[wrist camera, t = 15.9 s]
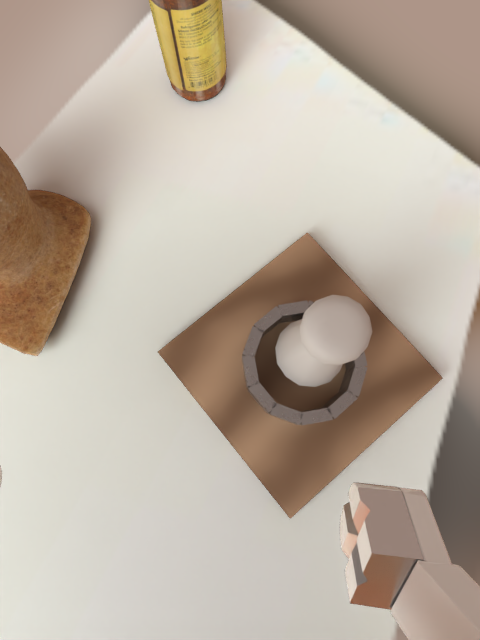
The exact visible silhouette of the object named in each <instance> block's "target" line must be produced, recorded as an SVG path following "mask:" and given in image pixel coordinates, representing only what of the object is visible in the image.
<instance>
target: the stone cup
mask: <svg viewBox="0 0 480 640" xmlns="http://www.w3.org/2000/svg"><path fill="white" fill-rule="evenodd" d="M90 227H91V217H90V215H89V212H88V211H87V210H86V209H85V208H84V207H83V206H81V205H80V204H78V203H77V202H75V201H73V200H71V199H69V198H67V197H65V196H62V195H60V194H56V193H53V192H48V191H42V190H29V191H28V190H27V187H26V185H25V182H24V181H23V179H22V177H21V175H20V173H19V172H18V170H17V168H16V167H15V165H14V164H13V162H12V161H11V159H10V158H9V156H8V155H7V154H6V153H5V152H4V151H3V149H2V148H1V147H0V342H1V343H2V344H4V345H7V346H9V347H11V348H13V349H15V350H18V351H20V352H22V353H24V354H30V355H34V356H38V355H39V354H40V352H41V351H42V349H43V347H44V345H45V343H46V341H47V339H48V337H49V334H50V332H51V331H52V329H53V327H54V325H55V322H56V320H57V317H58V315H59V313H60V310H61V308H62V306H63V303H64V301H65V298H66V296H67V294H68V292H69V289H70V287H71V285H72V282H73V280H74V277H75V275H76V272H77V270H78V267H79V264H80V262H81V259H82V256H83V253H84V250H85V247H86V244H87V241H88V237H89V233H90Z"/></svg>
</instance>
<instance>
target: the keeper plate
mask: <svg viewBox="0 0 480 640" xmlns="http://www.w3.org/2000/svg"><path fill="white" fill-rule="evenodd" d="M330 295H339V296H347V297H349V298H351V299H353V300H355V301H356V302H358V303H360V304H361V305H362V306H363V308H364V309H365V311H366V312H367V314H368V315H369V317H370V322H371V327H372V335H371V338H370V341H369V344H368V347H367V348H366V349H365V350H364V352H365V356H366V360H367V365H368V366H365V367H367V371H366V375H365V378H364V381H363V385H362V388H361V391H360V395H359V397H357V398H358V399H357V400H356V401H354V402H353V403H352V404H351V405H350V406H349V407H348V408H347V409H346V410H344V411H343V412H342V413H341V414H340V415H339V416H338V417H337V418H335V419H333V420H330V421H324V422H319V423H313V424H307V425H296V424H293V423H290V422H288V421H285V420H282V419H280V418H277V417H274V416H272V415H269V414H268V413H266V412H265V411H264V410H263V409H262V407H261V406H260V405H259V404H258V403H257V401H256V400H255V399H254V398H253V396H252V395H251V394H250V393H249V392H248V388H246V382H245V376H244V371H243V365H242V353H243V351H244V348H245V345H246V343H247V340H248V337H249V334H250V332H251V329H252V326H254V324H255V323H256V322H257V321H259V320H260V319H261V318H262V317H263V316H265V315H266V314H267V313H268V312H270V311H271V310H272V309H273V308H274V307H276V306H277V307H278V305H282V304H288V303H294V302H300V301H306V300H307V301H308V302H309V300H310V301H312V302H315V301H317V300H319V299H322V298H325V297H327V296H330ZM297 321H298V320H297ZM292 322H295V321H291V322H285V323H279V324H278V325H277V326H276V327H274V328H273V329H272V330H271V331H270V332H268V333H267V334H266V335H265V336H263V337H262V338H261V340H260V343H259V346H258V349H257V351H256V354H255V362H256V368H257V373H258V379H259V383H260V384H261V385H262V386H263V387H264V389H265V390H266V391H267V392H268V393H269V395H270V396H271V397H272V398H273V399H274V401H275V402H276V403H278V404H281V405H284V406H286V407H289V408H292V409H294V410H297V411H300V412H301V411H307V410H313V409H318V408H321V407H322V406H324V405H325V404H326V403H327V402H328V401H329V400H330V399H332V398H333V397H334V396H335V395H336V394H337V393H338V392H339V390H340V387H341V383H342V380H343V377H344V374H345V371H346V367H345V363H344V364H343V365H342V368H341V370H340V372H339V373H338V374H337V375H336V376H335V377H334V378H333V379H332V380H331V382H329V383H326V384H323V385H320V386H317V387H310V386H300V385H298V384H296V383H295V382H293V381H292V380H290V379H289V378H287V377H286V376H285V375H284V373H283V372H282V370H281V369H280V367H279V366H278V364H277V359H276V350H275V347H276V344H277V341H278V338H279V335H280V333H281V332H282V331H283V330H284V329H285V328H286V327H287V326H288V325H289V324H290V323H292ZM158 353H159V354H160V356H161V357H162V358H163V359H164V361H165V362H166V363H167V364H168V366H169V367H170V368H171V369H172V371H173V372H174V373H175V374H176V376H177V377H178V378H179V379H180V381H181V382H182V383H183V384H184V386H185V387H186V388H187V390H188V391H189V392H190V393H191V395H192V396H193V397H194V398H195V400H196V401H197V402H198V403H199V405H200V406H201V407H202V408H203V410H204V411H205V412H206V413H207V415H208V416H209V417H210V418H211V420H212V421H213V422H214V423H215V425H216V426H217V427H218V428H219V430H220V431H221V432H222V434H223V435H224V436H225V437H226V439H227V440H228V441H229V442H230V444H231V445H232V446H233V447H234V449H235V450H236V451H237V452H238V454H239V455H240V456H241V457H242V459H243V460H244V461H245V462H246V464H247V465H248V466H249V467H250V469H251V470H252V471H253V473H254V474H255V475H256V476H257V478H258V479H259V480H260V481H261V483H262V484H263V485H264V486H265V488H266V489H267V490H268V491H269V493H270V494H271V495H272V496H273V498H274V499H275V500H276V501H277V503H278V504H279V505H280V506H281V508H282V509H283V510H284V511H285V513H286V514H287V515H288V517H289V518H292V517H293V516H294V515H295V514H296V513H297V512H298V511H299V510H300V509H301V508H302V507H303V506H305V505H306V504H307V503H308V502H309V501H310V500H311V499H312V498H313V497H314V496H315V495H316V494H318V493H319V492H320V491H321V490H322V489H323V488H324V487H325V486H326V485H327V484H328V483H329V482H331V481H332V480H333V479H334V478H335V477H336V476H337V475H338V474H339V473H340V472H341V471H343V470H344V469H345V468H346V467H347V466H348V465H349V464H350V463H351V462H352V461H353V460H354V459H356V458H357V457H358V456H359V455H360V454H361V453H362V452H363V451H364V450H365V449H366V448H367V447H369V446H370V445H371V444H372V443H373V442H374V441H375V440H376V439H377V438H378V437H379V436H381V435H382V434H383V433H384V432H385V431H386V430H387V429H388V428H389V427H390V426H391V425H392V424H394V423H395V422H396V421H397V420H398V419H399V418H400V417H401V416H402V415H403V414H404V413H405V412H407V411H408V410H409V409H410V408H411V407H412V406H413V405H414V404H415V403H416V402H417V401H419V400H420V399H421V398H422V397H423V396H424V395H425V394H426V393H427V392H428V391H429V390H430V389H432V388H433V387H434V386H435V385H436V384H437V383H438V382H439V381H440V380H441V379H442V377H441V375H440V374H439V373H438V372H437V371H436V370H435V369H434V368H433V367H432V366H431V365H430V364H429V363H428V361H427V360H426V359H425V358H424V357H423V356H422V355H421V354H420V353H419V352H418V351H417V350H416V349H415V348H414V346H413V345H412V344H411V343H410V342H409V341H408V340H407V339H406V338H405V337H404V336H403V335H402V334H401V332H400V331H399V330H398V329H397V328H396V327H395V326H394V325H393V324H392V323H391V322H390V321H389V320H388V319H387V317H386V316H385V315H384V314H383V313H382V312H381V311H380V310H379V309H378V308H377V307H376V306H375V305H374V303H373V302H372V301H371V300H370V299H369V298H368V297H367V296H366V295H365V294H364V293H363V292H362V291H361V289H360V288H359V287H358V286H357V285H356V284H355V283H354V282H353V281H352V280H351V279H350V278H349V277H348V276H347V274H346V273H345V272H344V271H343V270H342V269H341V268H340V267H339V266H338V265H337V264H336V263H335V262H334V260H333V259H332V258H331V257H330V256H329V255H328V254H327V253H326V252H325V251H324V250H323V249H322V248H321V247H320V245H319V244H318V243H317V242H316V241H315V240H314V239H313V238H312V237H311V236H310V235H309V234H308V233H306V234H305V235H304V236H302V237H301V238H300V239H299V240H297V241H296V242H295V243H294V244H292V245H291V246H290V247H289V248H287V249H286V250H285V251H284V252H282V253H281V254H280V255H279V256H277V257H276V258H275V259H274V260H272V261H271V262H270V263H269V264H267V265H266V266H265V267H263V268H262V269H261V270H260V271H258V272H257V273H256V274H255V275H253V276H252V277H251V278H250V279H248V280H247V281H246V282H245V283H243V284H242V285H241V286H240V287H238V288H237V289H236V290H235V291H233V292H232V293H231V294H230V295H228V296H227V297H226V298H225V299H223V300H222V301H221V302H220V303H218V304H217V305H216V306H215V307H213V308H212V309H211V310H209V311H208V312H207V313H206V314H204V315H203V316H202V317H201V318H199V319H198V320H197V321H196V322H194V323H193V324H192V325H191V326H189V327H188V328H187V329H186V330H184V331H183V332H182V333H181V334H179V335H178V336H177V337H176V338H174V339H173V340H172V341H171V342H169V343H168V344H167V345H166V346H164V347H163V348H162V349H160V350H159V351H158Z"/></svg>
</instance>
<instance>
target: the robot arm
mask: <svg viewBox="0 0 480 640" xmlns="http://www.w3.org/2000/svg"><path fill="white" fill-rule="evenodd" d="M1 483H2V470H1V467H0V486H1ZM348 496H349V503H347V504H346V505H344V506H343V509H342V513H341V518H340V541H341V549H342V551H343V552H344V553H345V555H346V556H347V557H348V559H349V560H348V563H347V566H346V568H345V576H346V582H347V588H348V595H349V601H350V603H351V604H358V605H364V606H371V607H377V608H384V609H391V611H390V613H391V614H392V616H393V617H394V619H395V620H396V622H397V623H398V625H399V626H400V628H401V629H402V631H403V632H404V634H405V636H406V637H407V639H408V640H480V586H479V585H478V584H477V583H476V582H475V581H474V580H473V579H472V578H471V577H470V576H469V575H468V574H467V573H466V572H465V571H464V570H463V569H462V568H461V567H460V566H459V565H453V564H452V562H451V560H450V557H449V554H448V552H447V549H446V547H445V544H444V541H443V539H442V536H441V534H440V531H439V528H438V526H437V523H436V520H435V518H434V515H433V513H432V510H431V507H430V504H429V502H428V499H427V497H426V494H425V493H424V492H423V491H422V490H415V489H406V488H397V487H393V486H383V485H374V484H364V483H353V484H352V485H351V486H350V489H349V492H348Z"/></svg>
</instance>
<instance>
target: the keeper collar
mask: <svg viewBox="0 0 480 640" xmlns="http://www.w3.org/2000/svg"><path fill="white" fill-rule="evenodd" d="M313 303H314V302H312V301H310V300H309V302H308V301H307V300H306V301H300V302H294V303H288V304H282V305H278V307H277V306H276V307H274V308H273V309H272V310H271V311H270V312H268V313H267V314H266V315H265V316H263V317H262V318H261V319H260V320H259V321H257V322H256V323H255V324H254V326H252V329H251V332H250V334H249V337H248V340H247V343H246V345H245V348H244V351H243V353H242V365H243V371H244V376H245V382H246V388H248V392H249V393H250V394H251V395H252V396H253V398H254V399H255V400H256V401H257V403H258V404H259V405H260V406H261V407H262V409H263V410H264V411H265V412H266V413H268V414H269V415H272V416H274V417H277V418H280V419H282V420H285V421H288V422H290V423H293V424H296V425H307V424H313V423H319V422H324V421H330V420H333V419H335V418H337V417H338V416H339V415H340V414H341V413H342V412H343V411H344V410H346V409H347V408H348V407H349V406H350V405H351V404H352V403H353V402H354V401H356V400H357V399H358V398H357V397H359V395H360V391H361V388H362V385H363V381H364V378H365V375H366V371H367V367H365V366H368V365H367V360H366V356H365V352H363V353H362V354H361V355H360V356H359V357H358V358H357V359H356V360H353V361H350V362H347V363H345V367H346V371H345V374H344V377H343V380H342V383H341V387H340V390H339V392H338V393H337V394H336V395H335V396H334V397H333V398H332V399H330V400H329V401H328V402H327V403H326V404H325V405H324V406H322V407H321V408H318V409H313V410H307V411H301V412H300V411H297V410H294V409H292V408H289V407H286V406H284V405H281V404H278V403H276V402H275V401H274V399H273V398H272V397H271V396H270V395H269V393H268V392H267V391H266V390H265V389H264V387H263V386H262V385H261V384H260V383H259V379H258V373H257V368H256V362H255V354H256V351H257V349H258V346H259V343H260V340H261V338H262V337H263V336H265V335H266V334H267V333H268V332H270V331H271V330H272V329H273V328H274V327H276V326H277V325H278V324H279V323H285V322H291V321H297V320H300V319H303V315H304V313H305V311H306V310H307V309H308V308H309V307H310V306H311V305H312V304H313Z"/></svg>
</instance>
